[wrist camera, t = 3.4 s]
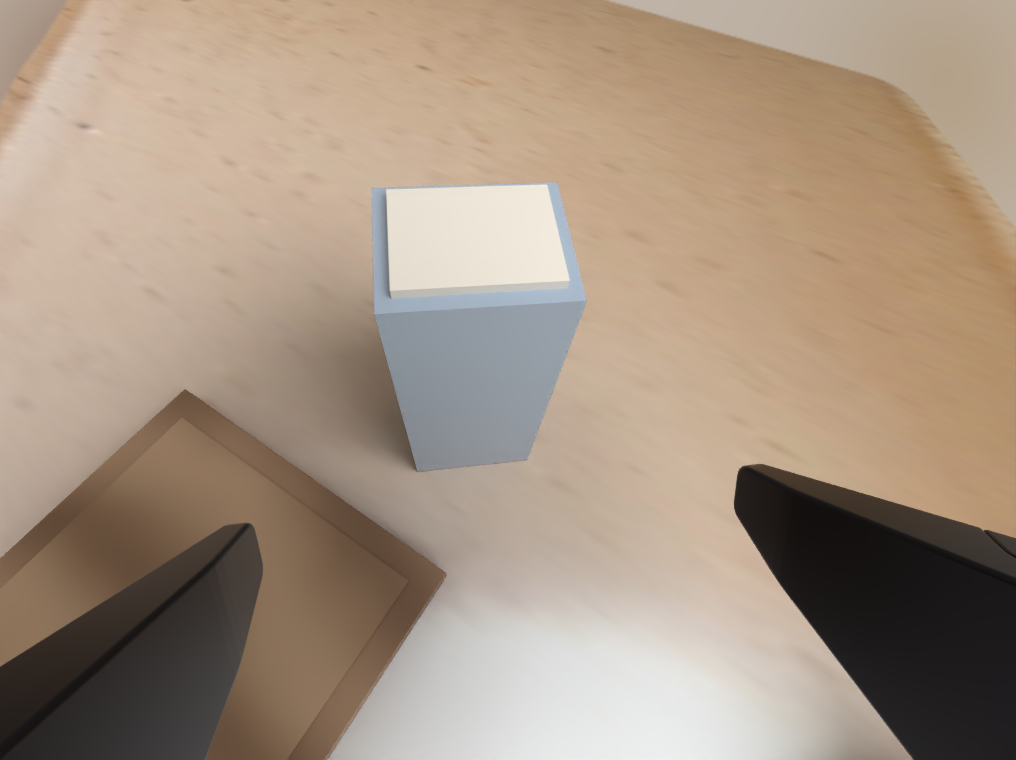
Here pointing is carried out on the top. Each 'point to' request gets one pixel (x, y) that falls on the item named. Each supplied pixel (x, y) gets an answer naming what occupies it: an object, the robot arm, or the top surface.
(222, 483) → the walnut board
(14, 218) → the top surface
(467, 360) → the slate block
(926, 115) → the top surface
